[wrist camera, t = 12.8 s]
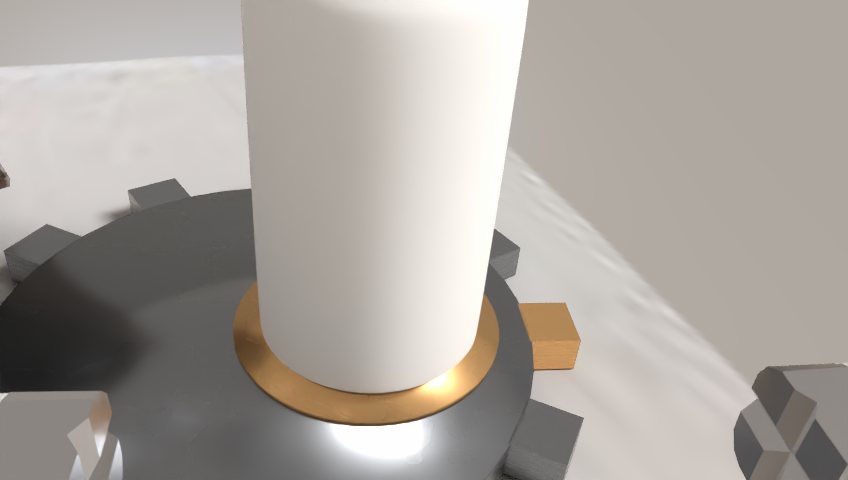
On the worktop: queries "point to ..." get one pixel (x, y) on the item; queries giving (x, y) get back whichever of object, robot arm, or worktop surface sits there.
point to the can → (376, 179)
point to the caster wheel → (4, 178)
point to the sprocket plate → (263, 360)
